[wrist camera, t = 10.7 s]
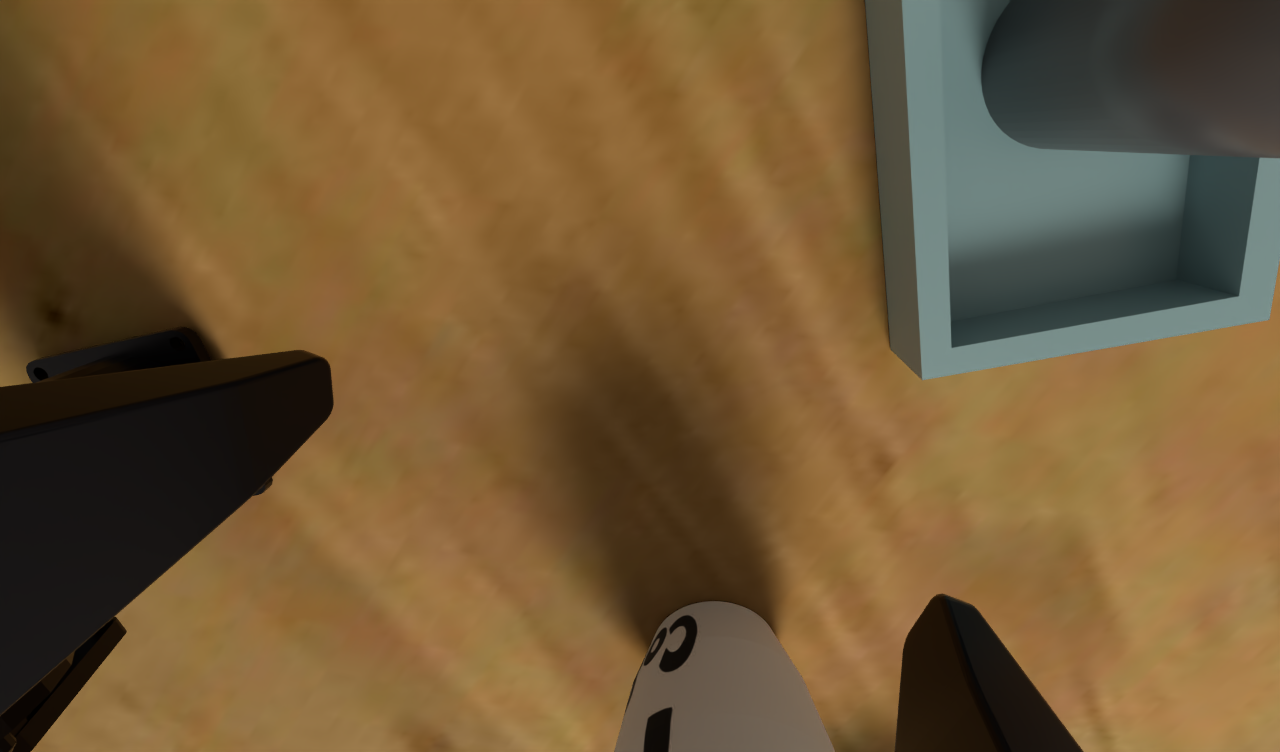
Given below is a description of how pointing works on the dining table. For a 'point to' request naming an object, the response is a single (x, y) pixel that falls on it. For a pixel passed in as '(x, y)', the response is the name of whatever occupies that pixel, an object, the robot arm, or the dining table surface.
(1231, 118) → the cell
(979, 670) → the robot arm
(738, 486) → the dining table surface
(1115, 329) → the trough
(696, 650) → the cup
